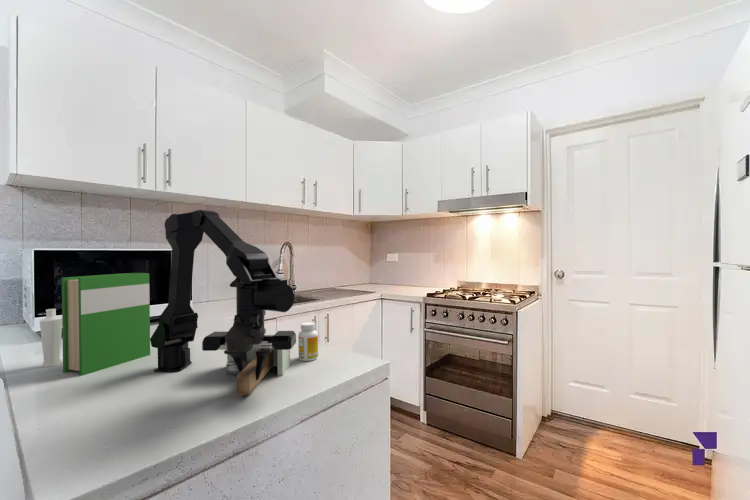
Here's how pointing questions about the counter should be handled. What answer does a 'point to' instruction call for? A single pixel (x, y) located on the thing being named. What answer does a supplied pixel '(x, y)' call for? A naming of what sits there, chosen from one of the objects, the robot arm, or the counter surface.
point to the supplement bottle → (308, 342)
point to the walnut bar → (252, 375)
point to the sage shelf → (279, 357)
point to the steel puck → (232, 368)
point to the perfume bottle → (51, 338)
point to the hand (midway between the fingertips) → (251, 379)
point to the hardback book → (104, 320)
